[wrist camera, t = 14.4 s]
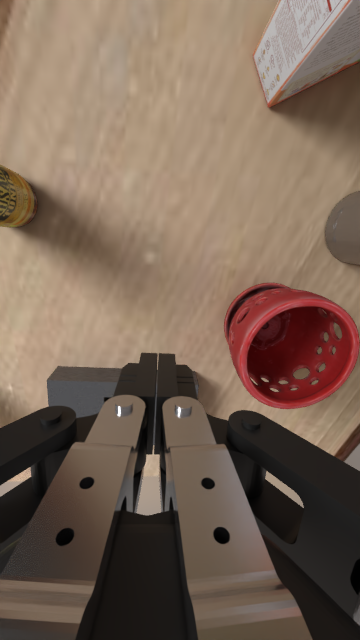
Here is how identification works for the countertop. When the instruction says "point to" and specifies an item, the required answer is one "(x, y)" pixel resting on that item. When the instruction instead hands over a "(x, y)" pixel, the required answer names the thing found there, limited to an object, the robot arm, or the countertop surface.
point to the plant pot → (289, 344)
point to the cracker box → (306, 45)
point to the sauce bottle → (15, 199)
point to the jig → (87, 389)
